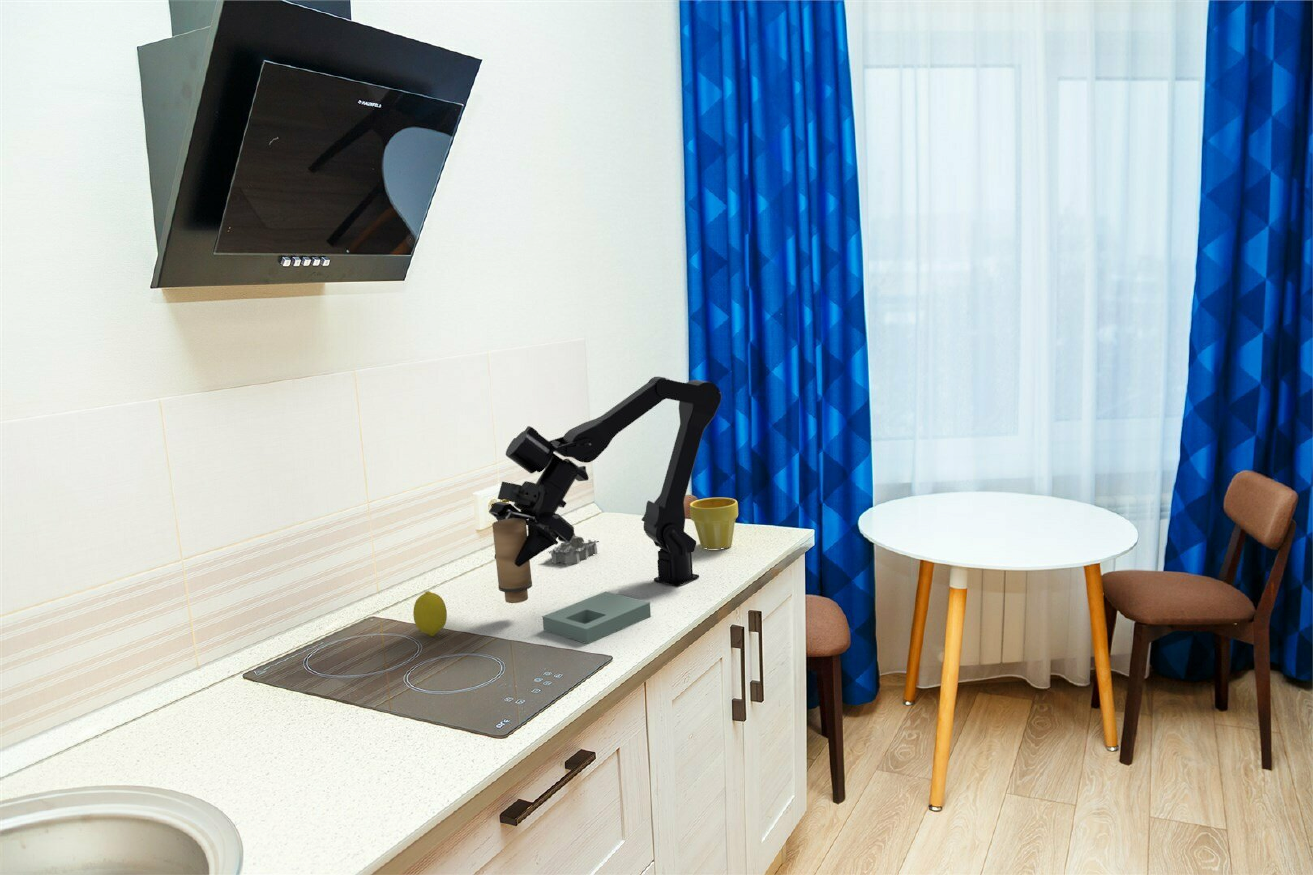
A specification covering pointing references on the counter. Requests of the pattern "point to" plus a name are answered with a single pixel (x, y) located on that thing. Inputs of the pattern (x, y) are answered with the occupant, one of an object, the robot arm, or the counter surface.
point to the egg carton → (573, 551)
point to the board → (596, 617)
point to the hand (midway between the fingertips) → (506, 562)
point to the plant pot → (714, 521)
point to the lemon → (430, 613)
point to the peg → (511, 559)
